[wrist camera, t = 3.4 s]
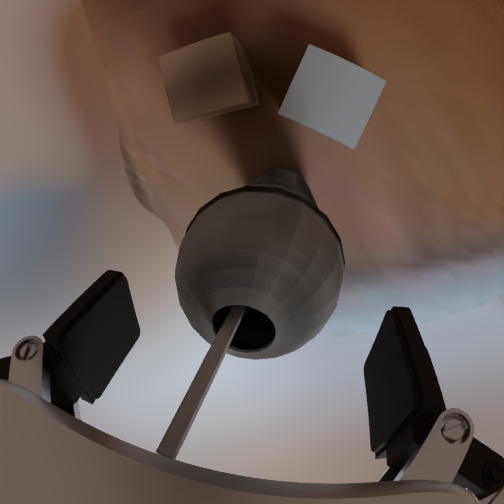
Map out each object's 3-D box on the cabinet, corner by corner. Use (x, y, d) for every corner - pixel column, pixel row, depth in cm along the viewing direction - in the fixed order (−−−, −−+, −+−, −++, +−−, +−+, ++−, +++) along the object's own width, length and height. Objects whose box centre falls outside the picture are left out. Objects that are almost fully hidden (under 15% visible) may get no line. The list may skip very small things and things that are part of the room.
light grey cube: (307, 60, 17) (309, 43, 12) (367, 88, 17) (385, 81, 13) (283, 115, 19) (277, 113, 15) (342, 142, 19) (354, 149, 15)
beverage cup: (338, 218, 22) (388, 485, 5) (260, 247, 25) (181, 486, 7) (303, 136, 20) (312, 301, 2) (221, 174, 22) (20, 361, 5)
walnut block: (187, 66, 18) (158, 57, 14) (246, 48, 17) (230, 31, 13) (200, 120, 20) (174, 123, 16) (260, 105, 19) (248, 101, 15)
